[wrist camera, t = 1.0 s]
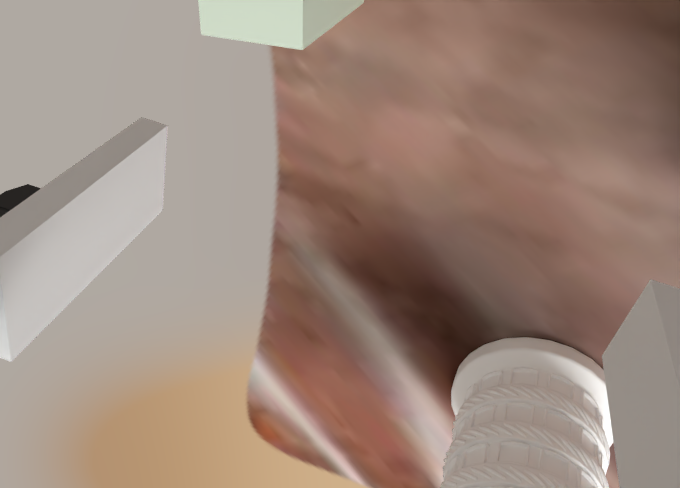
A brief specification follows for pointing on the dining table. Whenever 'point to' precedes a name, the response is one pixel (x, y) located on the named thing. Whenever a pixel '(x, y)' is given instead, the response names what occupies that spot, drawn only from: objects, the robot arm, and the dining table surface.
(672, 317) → the robot arm
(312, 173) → the dining table surface
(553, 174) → the dining table surface
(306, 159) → the dining table surface
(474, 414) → the decorative container
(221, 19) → the sage carton
